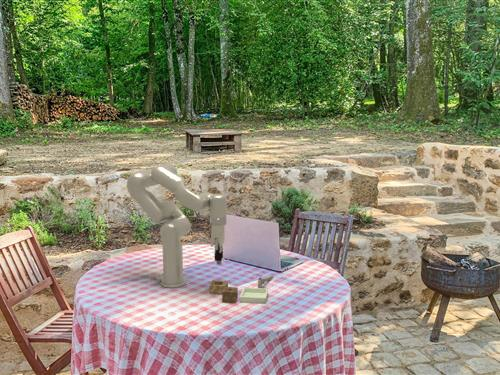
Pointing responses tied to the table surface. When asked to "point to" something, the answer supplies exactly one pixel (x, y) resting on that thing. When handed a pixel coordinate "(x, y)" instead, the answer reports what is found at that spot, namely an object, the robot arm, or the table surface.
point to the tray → (254, 295)
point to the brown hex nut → (217, 286)
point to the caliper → (263, 280)
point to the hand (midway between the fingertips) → (218, 259)
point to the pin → (219, 262)
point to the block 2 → (229, 294)
